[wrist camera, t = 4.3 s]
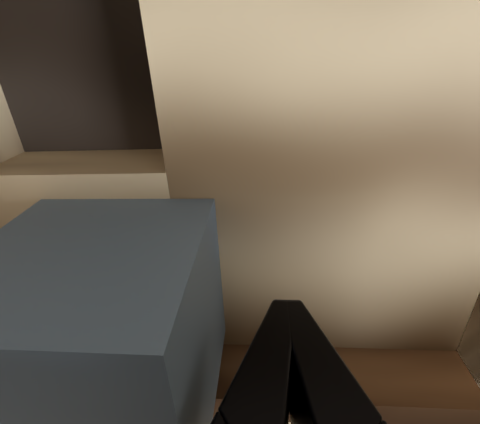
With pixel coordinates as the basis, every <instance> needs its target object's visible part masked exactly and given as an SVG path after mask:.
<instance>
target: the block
mask: <svg viewBox="0 0 480 424" xmlns="http://www.w3.org/2000/svg"><path fill="white" fill-rule="evenodd" d="M224 336H225V318H224V306H223V294H222V282H221V270H220V258H219V246H218V234H217V222H216V210H215V199H41V200H39V201H38V202H37V203H35V204H34V205H32V206H31V207H30V208H28V209H27V210H25V211H24V212H23V213H21V214H20V215H18V216H17V217H16V218H14V219H13V220H11V221H10V222H9V223H7V224H6V225H4V226H3V227H2V228H0V424H210V423H211V421H212V420H213V413H214V406H215V399H216V392H217V385H218V378H219V371H220V364H221V357H222V350H223V343H224Z"/></svg>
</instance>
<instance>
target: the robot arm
mask: <svg viewBox="0 0 480 424" xmlns="http://www.w3.org/2000/svg"><path fill="white" fill-rule="evenodd" d="M289 414H290V420H291V424H387V422H386V421H385V420H382V416H381V414H380V413H379V411H378V410H377V408H376V407H375V406H374V404H373V403H372V401H371V400H370V398H369V397H368V395H367V394H366V393H365V391H364V390H363V388H362V387H361V385H360V384H359V383H358V381H357V380H356V378H355V377H354V375H353V374H352V372H351V371H350V370H349V368H348V367H347V365H346V364H345V362H344V361H343V360H342V358H341V357H340V355H339V354H338V352H337V351H336V350H335V348H334V347H333V345H332V344H331V342H330V341H329V339H328V338H327V337H326V335H325V334H324V332H323V331H322V329H321V328H320V327H319V325H318V324H317V322H316V321H315V319H314V318H313V317H312V315H311V314H310V312H309V311H308V309H307V308H306V306H305V305H304V304H303V302H302V301H301V300H281V299H274V300H273V301H272V302H271V304H270V306H269V308H268V310H267V312H266V314H265V316H264V318H263V320H262V322H261V324H260V326H259V328H258V330H257V332H256V334H255V336H254V338H253V340H252V342H251V344H250V346H249V348H248V350H247V352H246V354H245V356H244V358H243V360H242V362H241V364H240V366H239V368H238V370H237V372H236V374H235V376H234V378H233V380H232V382H231V384H230V386H229V388H228V390H227V392H226V394H225V396H224V398H223V400H222V402H221V404H220V406H219V408H218V412H216V414H215V416H214V418H213V420H212V421H211V423H210V424H288V421H289Z"/></svg>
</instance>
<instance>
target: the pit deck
mask: <svg viewBox="0 0 480 424" xmlns="http://www.w3.org/2000/svg"><path fill="white" fill-rule="evenodd" d="M41 199H215V210H216V222H217V234H218V246H219V258H220V270H221V282H222V294H223V306H224V318H225V336H224V343H223V350H222V357H221V364H220V371H219V378H218V385H217V392H216V399H215V406H214V413H213V418H214V416H215V414H216V412H218V408H219V406H220V404H221V402H222V400H223V398H224V396H225V394H226V392H227V390H228V388H229V386H230V384H231V382H232V380H233V378H234V376H235V374H236V372H237V370H238V368H239V366H240V364H241V362H242V360H243V358H244V356H245V354H246V352H247V350H248V348H249V346H250V344H251V342H252V340H253V338H254V336H255V334H256V332H257V330H258V328H259V326H260V324H261V322H262V320H263V318H264V316H265V314H266V312H267V310H268V308H269V306H270V304H271V302H272V301H273V300H274V299H281V300H301V301H302V302H303V304H304V305H305V306H306V308H307V309H308V311H309V312H310V314H311V315H312V317H313V318H314V319H315V321H316V322H317V324H318V325H319V327H320V328H321V329H322V331H323V332H324V334H325V335H326V337H327V338H328V339H329V341H330V342H331V344H332V345H333V347H334V348H335V350H336V351H337V352H338V354H339V355H340V357H341V358H342V360H343V361H344V362H345V364H346V365H347V367H348V368H349V370H350V371H351V372H352V374H353V375H354V377H355V378H356V380H357V381H358V383H359V384H360V385H361V387H362V388H363V390H364V391H365V393H366V394H367V395H368V397H369V398H370V400H371V401H372V403H373V404H374V406H375V407H376V408H377V410H378V411H379V413H380V414H381V416H382V420H385V421H386V422H387V424H480V389H479V387H478V385H477V384H476V382H475V380H474V379H473V377H472V375H471V374H470V372H469V370H468V369H467V367H466V366H465V364H464V362H463V361H462V359H461V357H460V356H459V354H458V352H457V349H458V346H459V343H460V341H461V338H462V336H463V333H464V331H465V328H466V326H467V323H468V320H469V318H470V315H471V313H472V310H473V308H474V305H475V303H476V300H477V298H478V295H479V292H480V0H0V228H2V227H3V226H4V225H6V224H7V223H9V222H10V221H11V220H13V219H14V218H16V217H17V216H18V215H20V214H21V213H23V212H24V211H25V210H27V209H28V208H30V207H31V206H32V205H34V204H35V203H37V202H38V201H39V200H41ZM288 422H291V420H290V414H289V421H288Z"/></svg>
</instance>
